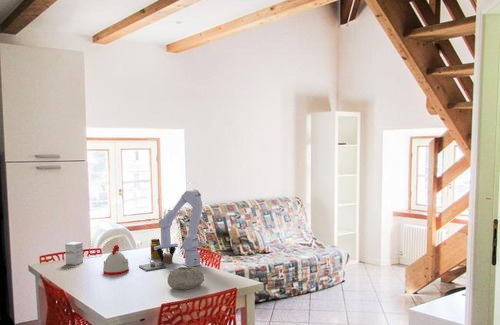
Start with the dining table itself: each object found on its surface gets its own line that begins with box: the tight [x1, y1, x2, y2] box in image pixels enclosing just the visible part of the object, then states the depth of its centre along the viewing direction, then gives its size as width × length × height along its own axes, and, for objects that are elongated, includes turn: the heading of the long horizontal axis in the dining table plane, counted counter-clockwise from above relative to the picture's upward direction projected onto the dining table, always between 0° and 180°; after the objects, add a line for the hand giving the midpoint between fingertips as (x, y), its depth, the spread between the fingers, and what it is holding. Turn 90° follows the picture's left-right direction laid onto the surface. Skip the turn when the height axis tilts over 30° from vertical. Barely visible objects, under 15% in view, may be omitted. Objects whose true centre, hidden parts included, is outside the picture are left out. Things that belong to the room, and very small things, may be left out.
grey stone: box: [167, 266, 205, 291], centre depth 218 cm, size 18×18×10 cm
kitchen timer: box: [102, 244, 130, 276], centre depth 252 cm, size 14×14×15 cm
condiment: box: [148, 238, 161, 260], centre depth 284 cm, size 7×8×12 cm
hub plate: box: [138, 259, 167, 272], centre depth 260 cm, size 12×12×4 cm
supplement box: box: [64, 241, 84, 266], centre depth 275 cm, size 7×7×13 cm
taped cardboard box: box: [160, 252, 173, 265], centre depth 271 cm, size 5×5×6 cm
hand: (166, 260), depth 271 cm, fingers closed on taped cardboard box, 5 cm apart
